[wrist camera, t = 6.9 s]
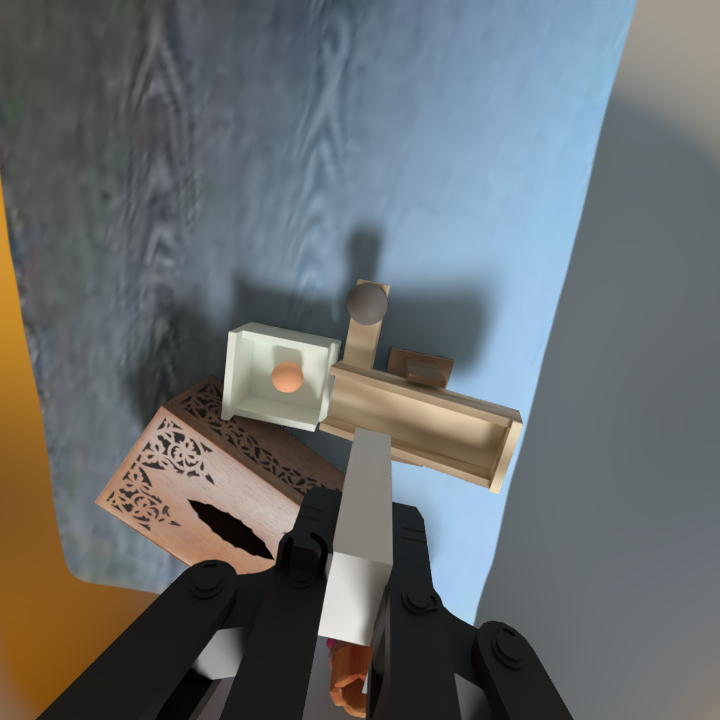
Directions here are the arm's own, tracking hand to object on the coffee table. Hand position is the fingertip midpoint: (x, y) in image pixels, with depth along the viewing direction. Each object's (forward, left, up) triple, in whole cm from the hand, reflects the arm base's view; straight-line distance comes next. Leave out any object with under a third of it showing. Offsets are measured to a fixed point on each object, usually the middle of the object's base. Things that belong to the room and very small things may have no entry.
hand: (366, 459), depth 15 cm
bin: (+6, -9, -26) cm, 28 cm away
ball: (+6, -9, -23) cm, 26 cm away
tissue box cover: (+21, -11, -26) cm, 35 cm away
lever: (+2, +5, -20) cm, 21 cm away
